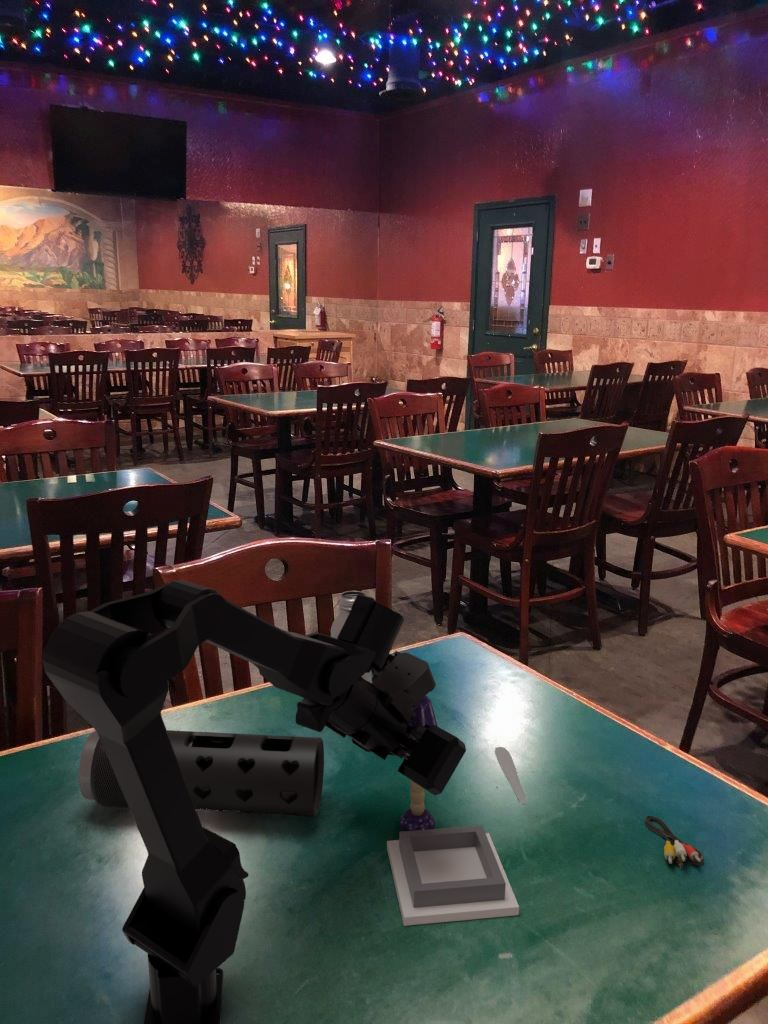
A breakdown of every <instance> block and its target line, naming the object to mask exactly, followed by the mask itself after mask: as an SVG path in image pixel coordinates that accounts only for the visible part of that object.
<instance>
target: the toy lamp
mask: <svg viewBox="0 0 768 1024" xmlns="http://www.w3.org/2000/svg"><path fill="white" fill-rule="evenodd" d="M410 709H411V710H413V711H414V712H415V713H416V714H417V715H416V716H415V718H414V720H413V721H412V723H411V724H410V723H407V724H408V725H409V726H411V727H414V726H415V725H417V724H420V725H422V726H425V724H427V725H429V726H433V725H436V726H437V727H439V726H438V723H437V718H436V714H435V710H434V707H433V705H432V701H431V699H430V697H429V696H428V695H426V696H425V697H424V698H423V699H422V700H421V701H420V702H419V703H418V704H417V705H416V706H414V707H412V708H410ZM405 736H406V737H408V738H410V737H409V736H408V735H405ZM412 736H413V735H412ZM413 737H414V736H413ZM409 786H410V793H409V797H410V800H411V801H410V807H409V808H408V809H407V810H405V811H404V812H403V813H402V815H401V817H400V819H399V829H400V830H401V832H403V831H416V830H429V829H435V826H436V825H435V819H434V817H433V814H432V813H430V812H429V811H428V810H427V809H425V808H426V807H425V804H426V803H425V801H424V800H425V796H426V793H425V789H424V788H422V787H421V786H419V785H417V784H416V783H414V782H413V781H411V780H410V779H409Z"/></svg>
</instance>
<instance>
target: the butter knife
mask: <svg viewBox="0 0 768 1024" xmlns="http://www.w3.org/2000/svg"><path fill="white" fill-rule="evenodd" d="M494 753H495V756H496V759H497V762H498V764H499V765H500V768H501V770H502V772H503V773H504V775H505V776H506V779H507V780H508V782H509V784H510V786H511V788H512V790H513V792H514V794H515V795H516V798H517V800H518V799H519V801H520V802H521V803H519V805H520V804H524V805H526V804H525V803H527V802H528V801H529V800H528V801H527V802H526V800H525V798H527V797H526V795H525V792H524V789H523V787H522V784H521V782H520V779H519V774H518V771H516V770H517V768H516V765H515V762H514V760H513V758H512V756H511V753H510V751H509V750H508V749H506V748H505V747H502V746H498V747H495V750H494ZM517 774H518V775H517ZM519 801H518V802H519Z"/></svg>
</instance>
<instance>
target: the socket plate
mask: <svg viewBox="0 0 768 1024" xmlns="http://www.w3.org/2000/svg"><path fill="white" fill-rule="evenodd" d="M398 837H399V839H396V840H395V839H393V840H387V841H386V852H387V855H388V859H389V864H390V869H391V873H392V878H393V882H394V887H395V892H396V896H397V901H398V906H399V910H400V915H401V919H402V925H403V926H406V927H407V926H413V925H414V926H415V925H427V924H437V923H439V924H440V923H447V922H448V923H449V922H459V921H471V920H479V919H490V918H492V919H493V918H501V917H502V918H503V917H513V916H519V913H520V905H519V904H518V901H517V898H516V896H515V893H514V891H513V889H512V885H511V884H510V881H509V879H508V876H507V873H506V871H505V870H504V866H503V864H502V862H501V860H500V857H499V854H498V852H497V849H496V847H495V844H494V843H493V840H492V838H491V835H490V833H489V832H486V830H485V829H484V826H483V825H468V826H459V827H458V826H457V827H446V828H445V827H444V828H434V829H429V830H416V831H399V834H398Z"/></svg>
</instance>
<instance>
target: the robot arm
mask: <svg viewBox="0 0 768 1024" xmlns="http://www.w3.org/2000/svg"><path fill="white" fill-rule="evenodd" d="M404 623H405V619H404V616H403V615H401V613H399V612H396V611H394V610H392V609H390V608H389V607H388V606H386V605H384V604H381V603H380V602H378V601H376V600H375V598H374V597H371V596H368V595H366V596H364V595H360V594H358V595H357V597H356V599H355V601H354V603H353V605H352V608H351V611H350V613H349V615H348V617H347V619H346V621H345V623H344V625H343V627H342V629H341V631H340V633H339V635H338V637H337V639H336V638H333V637H331V635H327V634H323V633H320V632H312V633H308V634H305V635H303V634H300V633H297V632H291V631H288V630H284V629H281V628H279V627H278V626H275V625H274V624H272V623H270V622H268V621H266V620H265V619H262V618H261V617H259V616H258V615H256V614H254V613H251V612H250V611H248V610H246V609H244V608H243V607H241V606H239V605H237V604H235V603H234V602H232V601H229V600H228V599H226V598H224V597H223V596H222V595H221V594H220V593H219V591H217V590H216V589H213V588H209V587H206V586H203V585H201V584H200V585H199V584H196V583H193V582H190V581H187V580H182V579H178V580H177V579H176V580H171V581H169V582H165V583H164V584H162V585H159V586H157V587H156V588H154V589H152V590H150V591H148V592H144V593H139V594H135V595H131V596H128V597H127V596H126V597H123V598H120V599H119V598H118V599H115V600H112V601H108V602H105V603H103V604H101V605H98V606H97V607H95V608H93V609H91V610H89V611H79V612H75V613H73V614H71V615H69V616H68V617H65V618H64V619H63V620H62V621H61V622H60V623H59V624H57V626H55V628H54V630H53V631H52V633H51V634H50V636H49V638H48V640H47V643H46V647H44V648H43V649H42V651H41V662H42V665H43V671H44V673H45V674H46V676H47V677H48V679H49V680H50V681H51V683H53V685H54V686H55V688H56V689H57V691H58V692H59V693H60V695H61V696H62V697H63V699H64V700H65V701H66V702H67V704H68V705H70V707H72V708H73V709H74V710H75V711H76V713H78V714H79V715H80V716H81V717H82V718H83V719H84V720H85V721H86V722H87V723H88V724H89V726H90V727H92V728H93V730H94V731H96V732H97V733H98V736H99V738H100V740H101V743H102V745H103V747H104V750H105V752H106V754H107V757H108V759H109V762H110V764H111V766H112V769H113V771H114V773H115V776H116V778H117V780H118V783H119V785H120V787H121V790H122V792H123V795H124V797H125V799H126V802H127V804H128V806H129V808H128V809H129V812H130V813H131V816H132V818H133V821H134V823H135V824H136V825H135V826H136V828H137V830H138V832H139V834H140V837H141V840H142V842H143V844H144V846H145V849H146V850H147V857H146V859H145V863H144V865H143V867H142V869H141V877H142V883H143V888H142V890H141V892H140V894H139V896H138V898H137V900H136V902H135V903H134V905H133V907H132V909H131V911H130V913H129V914H128V917H127V918H126V921H125V922H124V924H123V926H122V929H121V930H122V931H121V932H122V933H123V934H124V936H125V938H126V940H127V941H128V943H130V944H131V945H132V946H136V947H138V948H139V949H141V950H142V951H144V952H145V953H146V954H147V964H148V965H147V966H148V977H149V978H148V980H149V990H148V996H147V1003H146V1007H145V1015H144V1021H143V1024H221V1020H222V1005H223V1004H222V1002H223V1000H222V999H223V983H224V971H223V969H222V968H221V967H220V966H221V965H222V964H224V962H226V961H227V960H228V959H230V957H231V956H232V955H234V953H235V950H236V945H237V941H238V935H239V932H240V927H241V923H242V918H243V913H244V908H245V901H246V897H247V890H246V883H245V881H244V880H245V879H246V878H248V877H249V872H247V871H246V870H245V869H244V868H243V866H242V862H241V855H240V851H239V848H238V847H237V844H236V843H235V842H232V841H231V840H229V839H228V838H226V837H223V836H221V835H219V834H218V833H215V832H214V831H212V830H210V829H208V828H206V827H204V826H203V825H202V823H201V820H200V817H199V814H198V811H197V809H196V808H195V806H194V803H193V800H192V798H191V795H190V792H189V789H188V787H187V784H186V781H185V779H184V776H183V773H182V771H181V768H180V765H179V762H178V760H177V757H176V754H175V752H174V749H173V746H172V743H171V741H170V738H169V735H168V733H167V730H168V729H167V728H166V725H165V722H164V720H163V717H162V710H163V707H164V705H165V702H166V699H167V696H168V693H169V690H170V683H169V681H170V679H173V678H174V677H176V676H177V675H178V674H181V672H183V671H184V670H186V668H187V667H188V665H189V664H190V662H191V659H192V658H193V656H194V654H195V652H196V650H197V649H198V647H199V645H201V644H203V643H204V642H206V643H208V644H209V645H212V646H214V647H216V648H218V649H221V650H222V651H225V652H227V653H229V654H232V655H234V656H236V657H238V658H240V659H241V660H242V659H243V660H245V661H247V662H249V663H250V664H252V665H253V666H254V667H256V668H257V669H258V672H259V674H260V676H261V677H263V678H264V679H265V680H266V681H267V682H269V683H270V684H271V685H272V686H274V687H275V688H276V689H279V690H280V691H284V692H286V693H290V694H293V695H294V696H297V697H300V698H302V700H300V701H298V702H297V704H296V707H297V708H296V709H297V711H296V712H295V724H296V725H298V726H301V727H304V728H306V729H310V730H312V731H315V732H317V733H322V732H323V730H324V729H325V727H326V728H328V729H329V730H331V731H332V732H334V733H335V734H337V735H339V736H340V737H342V738H343V739H345V738H346V736H348V737H349V738H351V741H352V743H353V744H354V745H356V746H357V747H359V748H360V749H362V750H363V751H365V753H366V752H367V753H372V754H374V755H375V756H377V757H378V758H380V759H382V760H384V761H385V760H386V759H387V757H388V756H389V755H390V756H396V757H397V758H400V759H403V761H402V763H401V764H400V765H399V767H398V769H397V772H398V773H400V774H402V776H404V777H405V778H407V779H409V781H410V780H411V781H413V782H414V783H416V784H417V785H419V786H421V787H422V788H424V789H423V790H424V791H427V792H429V793H430V794H432V795H433V796H437V795H440V794H443V792H444V790H445V788H446V787H447V785H448V782H449V781H450V779H451V778H452V776H453V774H454V772H455V770H456V769H457V767H458V766H459V764H460V762H461V760H462V758H463V757H464V755H465V753H466V751H467V747H466V743H464V742H463V740H461V739H460V738H459V737H457V736H456V735H454V734H452V733H450V732H448V731H446V730H444V729H442V728H441V727H439V726H438V725H437V726H438V727H437V726H436V725H433V726H429V725H427V724H425V726H422V725H420V724H417V725H415V726H414V727H411V726H409V725H408V724H407V723H410V724H411V723H412V721H413V720H414V718H415V716H416V715H417V714H416V713H415V712H414V711H413V710H411V709H410V708H412V707H414V706H416V705H417V704H418V703H419V702H420V701H421V700H422V699H423V698H424V697H425V696H428V694H429V693H431V692H432V691H433V690H434V689H435V688H436V685H437V683H436V681H435V678H434V675H433V673H432V671H431V668H430V665H429V662H427V661H426V660H423V659H421V658H419V657H417V656H416V655H413V654H410V653H409V652H405V651H404V652H399V651H398V650H394V652H393V654H394V655H392V654H391V653H390V652H391V650H392V648H393V646H394V644H395V642H396V640H397V639H398V636H399V633H400V632H401V628H403V625H404ZM164 630H165V631H164ZM158 633H160V634H158ZM155 634H158V635H157V636H155ZM370 671H371V675H372V683H370V682H368V681H366V680H365V679H363V678H362V676H363V675H364V674H365V673H369V672H370ZM405 735H408V736H409V737H410V738H408V737H406V736H405ZM412 735H413V736H414V737H413V736H412Z"/></svg>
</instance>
